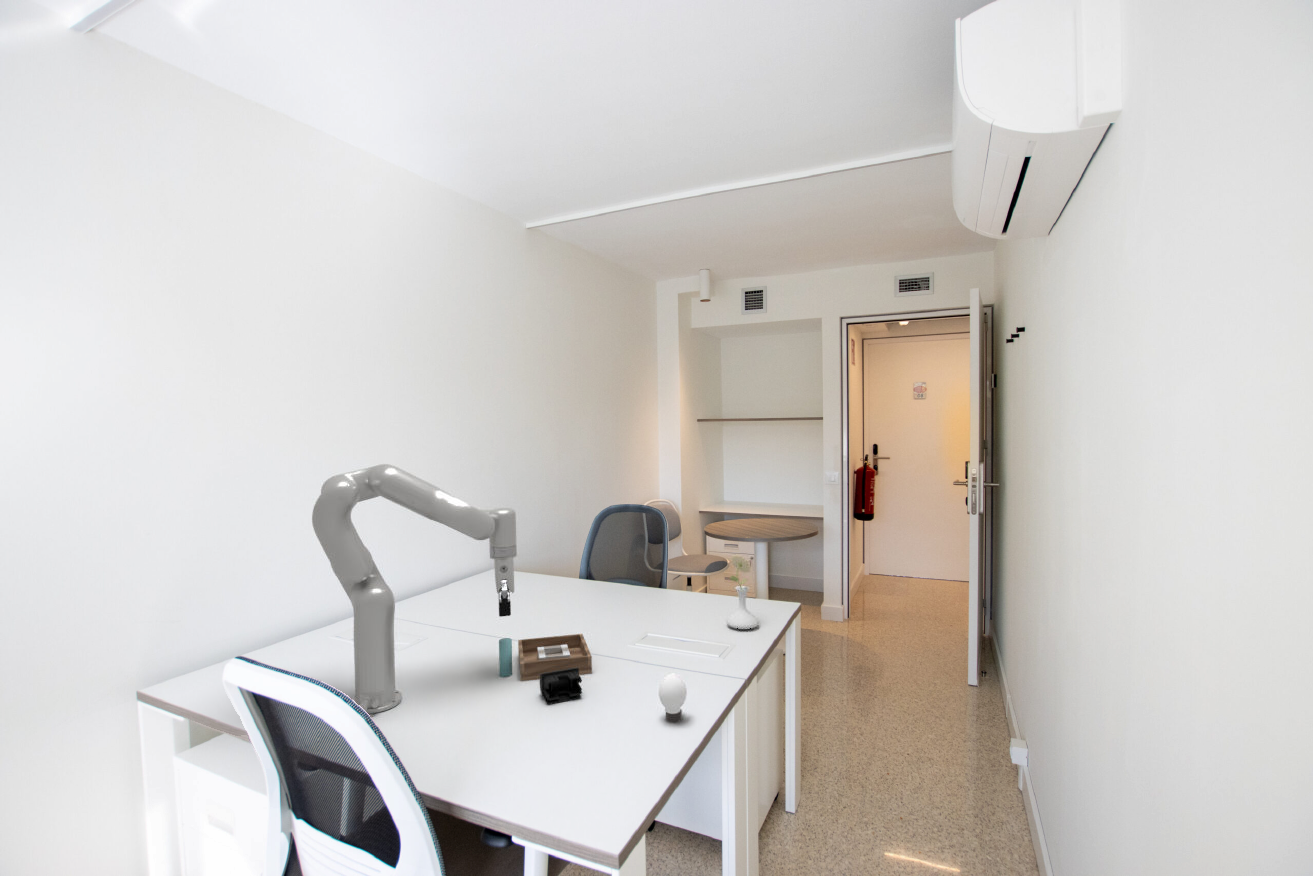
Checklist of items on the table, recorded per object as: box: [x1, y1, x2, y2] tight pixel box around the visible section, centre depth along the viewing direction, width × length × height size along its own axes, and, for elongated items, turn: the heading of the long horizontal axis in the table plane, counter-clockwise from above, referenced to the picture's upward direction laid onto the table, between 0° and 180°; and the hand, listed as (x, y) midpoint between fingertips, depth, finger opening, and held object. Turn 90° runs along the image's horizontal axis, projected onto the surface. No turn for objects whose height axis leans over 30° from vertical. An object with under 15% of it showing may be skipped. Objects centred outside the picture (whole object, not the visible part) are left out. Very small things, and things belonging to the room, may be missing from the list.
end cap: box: [539, 667, 583, 706], centre depth 165 cm, size 10×7×7 cm
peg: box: [498, 637, 513, 678], centre depth 180 cm, size 4×4×10 cm
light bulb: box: [658, 672, 687, 723], centre depth 152 cm, size 7×7×11 cm
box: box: [517, 633, 593, 682], centre depth 188 cm, size 20×20×5 cm
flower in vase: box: [725, 554, 760, 630], centre depth 220 cm, size 13×11×25 cm
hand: (504, 610), depth 180 cm, fingers open, 9 cm apart
